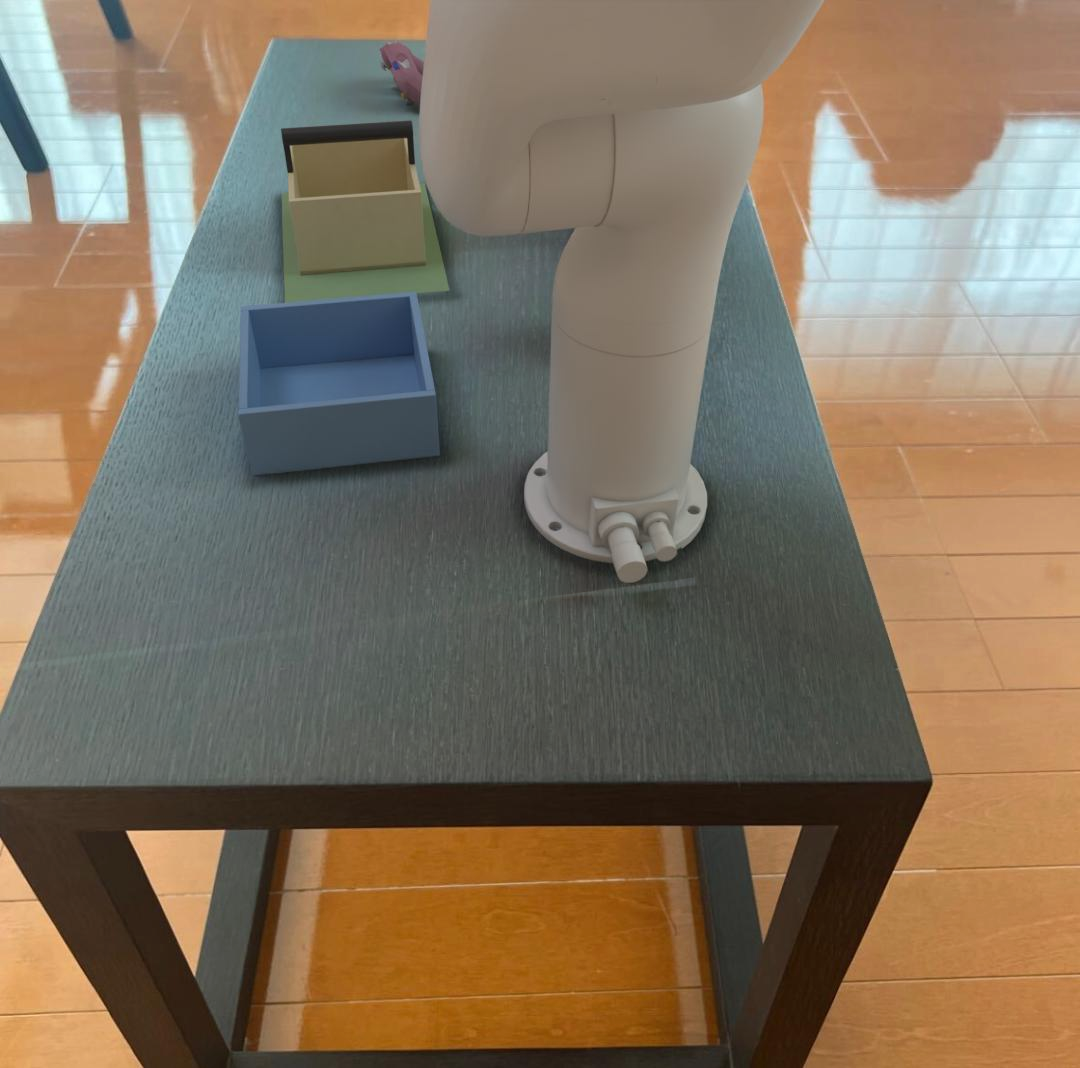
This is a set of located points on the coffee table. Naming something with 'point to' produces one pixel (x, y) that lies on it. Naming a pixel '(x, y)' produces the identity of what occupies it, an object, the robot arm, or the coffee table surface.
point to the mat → (364, 280)
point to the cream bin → (354, 197)
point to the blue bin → (335, 383)
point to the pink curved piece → (403, 70)
